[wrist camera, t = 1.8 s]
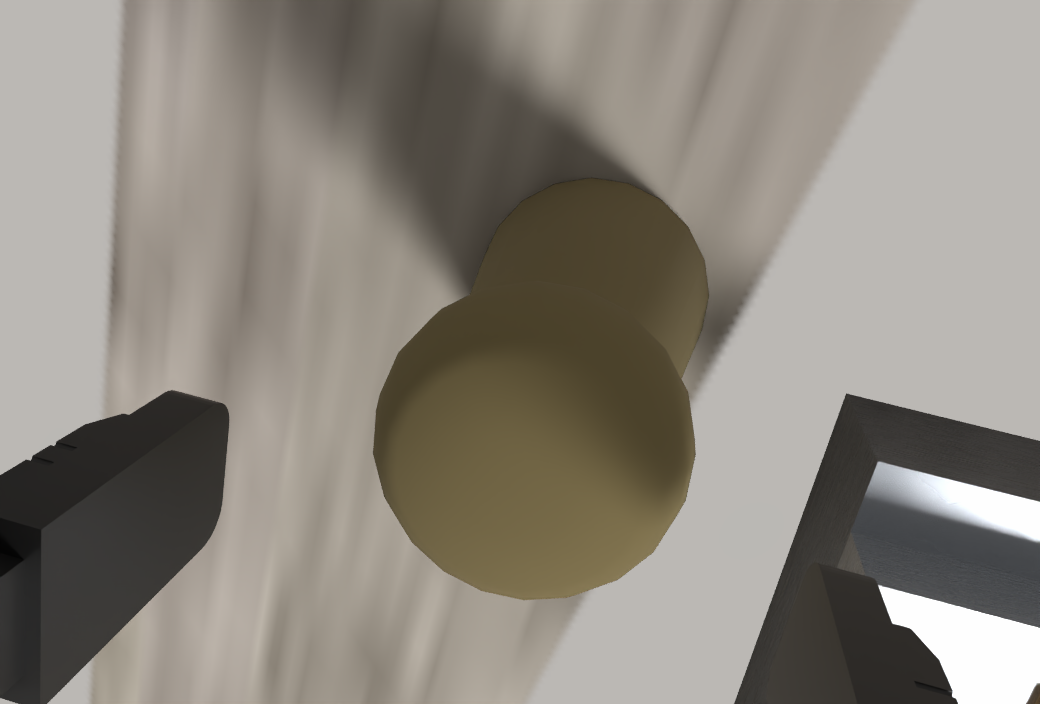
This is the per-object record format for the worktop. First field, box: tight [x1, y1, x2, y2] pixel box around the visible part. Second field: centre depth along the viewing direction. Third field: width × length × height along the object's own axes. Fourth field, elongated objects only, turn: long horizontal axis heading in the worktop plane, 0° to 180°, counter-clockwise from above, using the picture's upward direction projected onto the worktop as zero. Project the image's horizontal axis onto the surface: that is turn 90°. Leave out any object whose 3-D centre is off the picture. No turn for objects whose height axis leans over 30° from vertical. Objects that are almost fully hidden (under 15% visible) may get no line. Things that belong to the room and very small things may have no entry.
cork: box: [373, 178, 709, 600], centre depth 18 cm, size 6×6×11 cm
